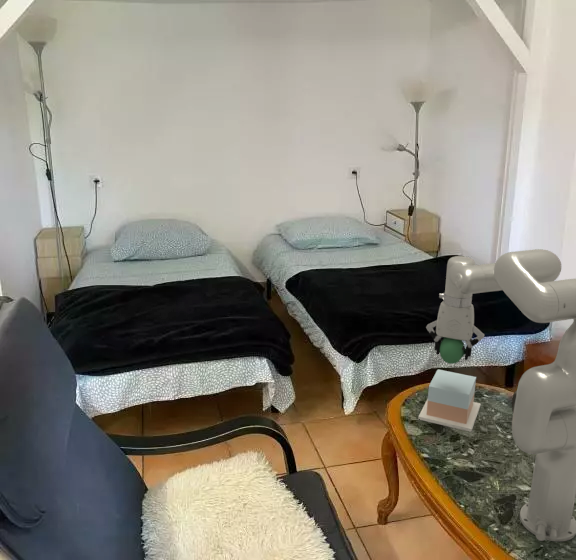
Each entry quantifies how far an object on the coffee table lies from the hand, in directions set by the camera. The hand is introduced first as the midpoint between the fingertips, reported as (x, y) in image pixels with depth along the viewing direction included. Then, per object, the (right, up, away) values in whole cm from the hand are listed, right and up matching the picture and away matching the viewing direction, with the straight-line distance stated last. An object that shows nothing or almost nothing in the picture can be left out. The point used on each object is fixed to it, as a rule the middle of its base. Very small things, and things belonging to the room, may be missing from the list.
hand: (452, 355), depth 177 cm
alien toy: (0, -3, +1) cm, 3 cm away
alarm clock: (+22, -22, +4) cm, 31 cm away
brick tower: (+2, -20, +12) cm, 23 cm away
